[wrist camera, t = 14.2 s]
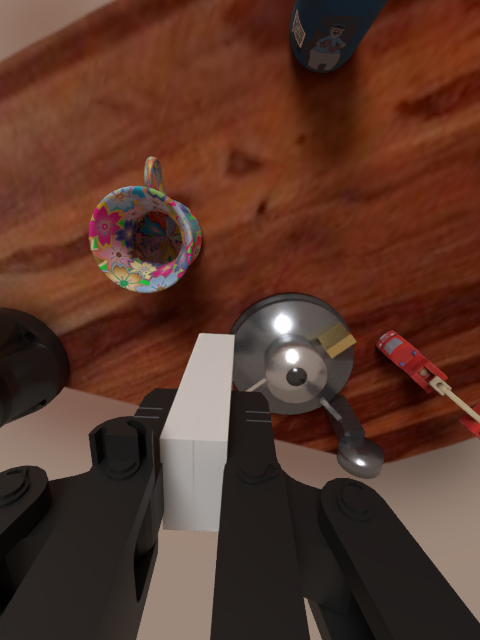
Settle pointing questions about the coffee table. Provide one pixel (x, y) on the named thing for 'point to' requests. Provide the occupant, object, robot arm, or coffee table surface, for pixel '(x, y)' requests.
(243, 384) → the turntable
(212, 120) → the coffee table surface
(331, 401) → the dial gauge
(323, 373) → the cover
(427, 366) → the toy fire truck
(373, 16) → the soda can
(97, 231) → the mug
